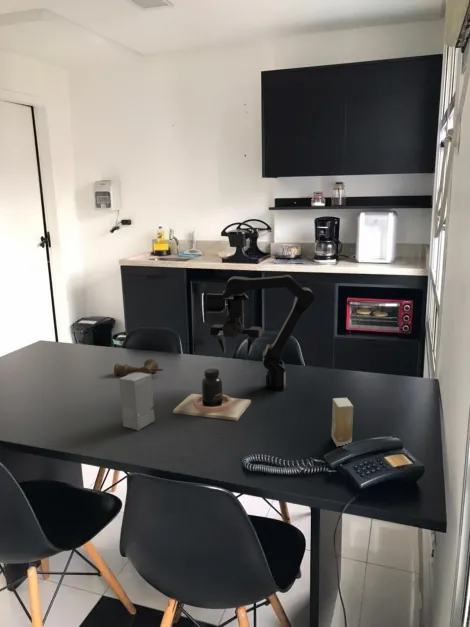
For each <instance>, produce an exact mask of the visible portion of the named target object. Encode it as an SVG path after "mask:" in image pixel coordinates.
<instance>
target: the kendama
mask: <svg viewBox="0 0 470 627" xmlns="http://www.w3.org/2000/svg"><path fill="white" fill-rule="evenodd" d="M161 371H164V368H159V363H158V362H157V360H155V359H152V358H149V359H146V360H145V361H144V364H143V366H141V367H135V366H131V365H129V364H124V365H123V364H119V363H116V364H115V365H114V367H113V374H114V376H115V377H119V376H120V375H125V376H127V375H129V374H133V373H136V372H140V373H146V374H151V376H152V374H155V373H156V372H161Z"/></svg>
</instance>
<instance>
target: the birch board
mask: <svg viewBox="0 0 470 627" xmlns="http://www.w3.org/2000/svg"><path fill="white" fill-rule="evenodd" d="M199 396H202V394H199V393H190V394H189V395H188V396H187V397H186V398H185V399H184V400H182V402H181V403H179V404H178V405H177V406H176V407H175V408H174V409H173V412H172V413H173V414H179V415H189V416H197V417H204V418H205V417H206V418H212V419H213V418H214V419H221V420H229V421H238V420H239V419H240V418H241V416H242V415H243V414H244V412H245V411H246V410H247V408H248V407H249V406H250V404H251V403H252V400H251V399H247V398H238V397H237V398H235V397H230V398H231V400H232V405H231V407H230V408H229V409H227V410H224V411H221V412H213V413H209V412H201V411H199V410H197V409H195V407H194V400H195V399H196V398H197V397H199ZM226 403H227V401H224V400H222V405H224V404H226ZM198 404H199V405H202V406H203V404H202V401H201V402H199V403H198ZM222 405H221V406H222Z"/></svg>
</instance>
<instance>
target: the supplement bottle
mask: <svg viewBox="0 0 470 627" xmlns="http://www.w3.org/2000/svg"><path fill="white" fill-rule="evenodd" d="M222 394H223V380H222V378H221V377H220V369H218V368H207V369H204V377H203V378H202V379H201V395H202V404H203V406H206V407H217V406H221V405H222Z"/></svg>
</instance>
